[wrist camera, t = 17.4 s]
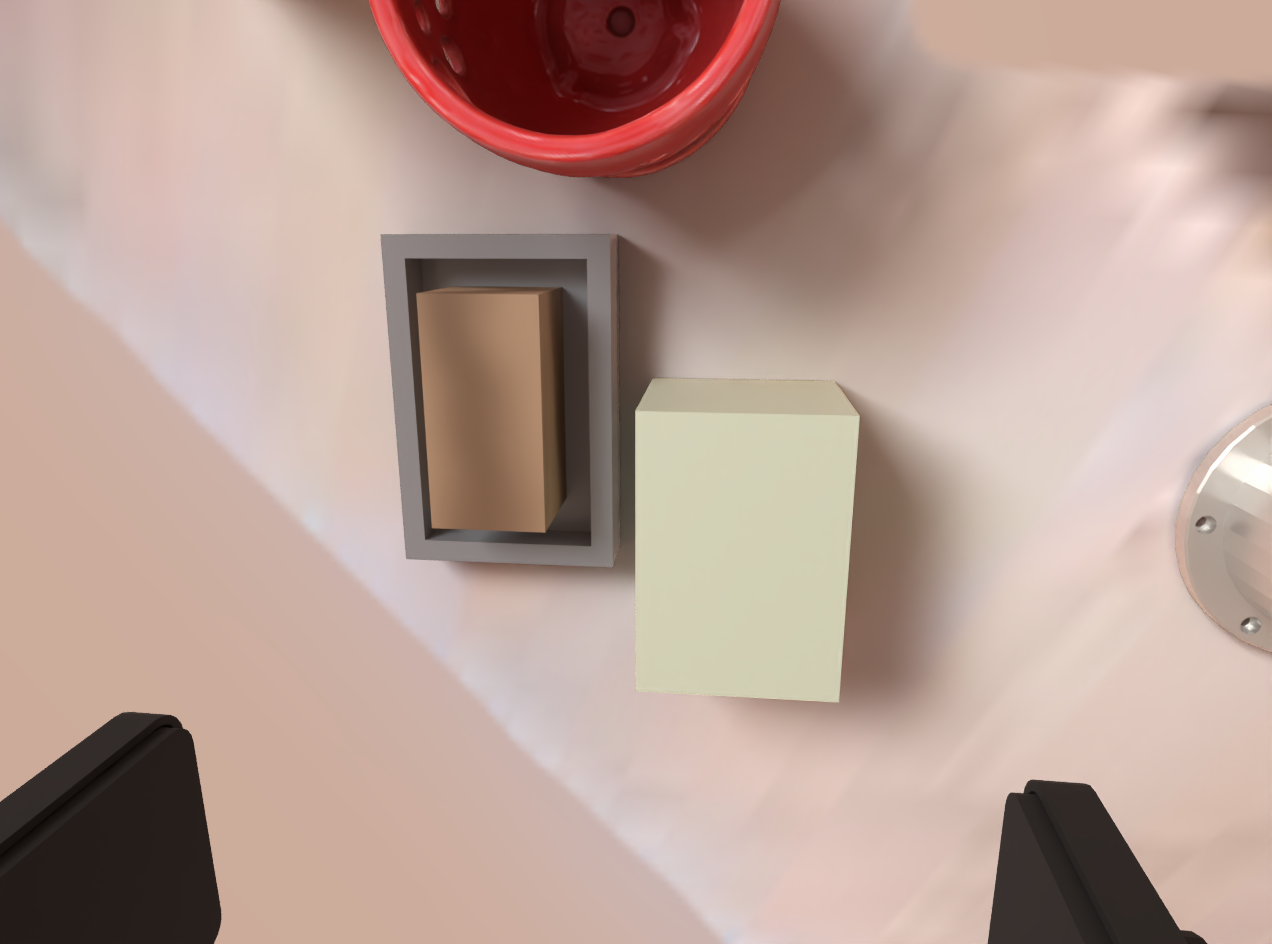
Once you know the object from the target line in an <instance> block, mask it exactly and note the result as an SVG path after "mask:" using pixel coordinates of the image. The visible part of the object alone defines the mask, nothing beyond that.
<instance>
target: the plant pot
mask: <svg viewBox="0 0 1272 944" xmlns="http://www.w3.org/2000/svg"><path fill="white" fill-rule="evenodd" d="M368 1H369V4H370V7H371V10H372V14H373V17H374V19H375V22H376V25H377V27H378V30H379V32H380V34H381V36H382V38H383V41H384V43H385V45H386V47H387V48H388V50H389V52H390V54H391V56H392V58H393V60H394V61H395V63H396V65H397V66H398V68H399V69H400V71H401V72H402V74H403V75H404V77H405V78H406V80H407V81H408V82H409V83H410V85H411V86H412V87H413V88H414V90H415V91H416V92H417V93H418V94H419V96H420V97H421V98H422V99H423V100H424V101H425V102H426V103H427V104H428V105H429V106H430V108H431V109H432V110H433V111H434V112H436V113H437V114H438V115H439V116H440V117H441V118H442V119H444V120H445V121H446V122H447V123H449V124H450V125H451V126H453V127H454V128H455V129H456V130H458V131H459V132H461V133H462V134H464V135H465V136H467V137H468V138H469V139H471V140H472V141H474V142H475V143H477V144H479V145H480V146H482V147H484V148H486V149H487V150H489V151H491V152H493V153H494V154H496V155H498V156H501V157H503V158H505V159H507V160H509V161H512V162H515V163H517V164H520V165H523V166H526V167H530V168H533V169H536V170H539V171H543V172H547V173H552V174H556V175H562V176H569V177H595V176H601V177H613V178H626V177H636V176H642V175H647V174H650V173H654V172H657V171H660V170H663V169H665V168H667V167H670V166H672V165H674V164H676V163H678V162H679V161H681V160H683V159H685V158H687V157H688V156H690V155H691V154H692V153H694V152H695V151H697V150H698V149H699V148H701V147H702V146H703V145H704V144H706V143H707V142H708V141H709V140H710V139H711V138H712V137H713V136H714V135H715V134H716V133H717V132H718V131H719V129H720V128H721V127H722V126H723V125H724V124H725V122H726V121H727V120H728V119H729V117H730V116H731V114H732V113H733V111H734V110H735V108H736V107H737V105H738V103H739V102H740V100H741V98H742V96H743V94H744V92H745V90H746V88H747V86H748V84H749V81H750V78H751V76H752V74H753V72H754V71H755V69H756V67H757V65H758V62H759V60H760V58H761V55H762V53H763V51H764V49H765V46H766V44H767V41H768V39H769V36H770V33H771V31H772V28H773V25H774V22H775V19H776V16H777V12H778V9H779V5H780V1H781V0H439V2H440V13H439V11H438V9H437V7H436V3H435V0H368ZM443 49H444V50H443ZM444 51H445V53H446V54H447V56H448V58H449V60H450V63H451V65H450V64H449V62H448V61H447V59H446V57H445V54H444ZM451 66H452V67H451Z"/></svg>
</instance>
